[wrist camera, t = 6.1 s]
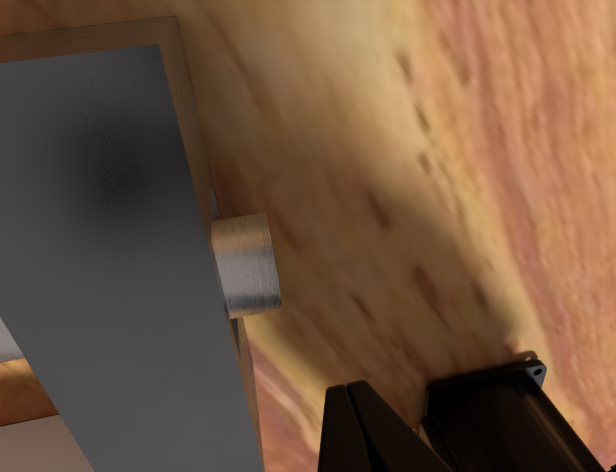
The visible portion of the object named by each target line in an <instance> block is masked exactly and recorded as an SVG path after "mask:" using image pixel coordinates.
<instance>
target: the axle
mask: <svg viewBox="0 0 616 472" xmlns="http://www.w3.org/2000/svg"><path fill="white" fill-rule="evenodd" d="M212 245H213V249H214V253H215V258H216V262H217V266H218V270H219V274H220V278H221V282H222V287H223V291H224V295H225V299H226V303H227V307H228V311H229V316H230V319H234V318H239V317H244V316H249V315H255V314H260V313H265V312H271V311H276V310H281V309H282V302H281V294H280V288H279V281H278V275H277V269H276V263H275V257H274V252H273V246H272V241H271V235H270V230H269V225H268V221H267V216H266V213H265V212H264V213H258V214H252V215H246V216H240V217H234V218H228V219H222V220H215V221H212ZM23 358H25V357H24V355H23V354H22V352H21V350H20V349H19V347H18V346H17V344H16V342H15V341H14V339H13V337H12V336H11V334H10V332H9V331H8V329H7V328H6V326H5V324H4V323H3V321H2V319H1V318H0V363H2V362H7V361H12V360H17V359H23Z"/></svg>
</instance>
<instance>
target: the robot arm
mask: <svg viewBox="0 0 616 472" xmlns="http://www.w3.org/2000/svg"><path fill="white" fill-rule="evenodd" d="M546 371H547V368H546V366H545V365H544V364H543V363H542V361H541V360H532V361H527V362H523V363H518V364H513V365H509V366H504V367H500V368H495V369H491V370H486V371H482V372H477V373H473V374H468V375H464V376H459V377H455V378H450V379H446V380H441V381H436V382H433V383H431V384H429V385H428V386H427V387H426V390H425V401H424V413H423V417H422V419H421V421H420V426H419V435H418V434H417V433H416V432H415V431H414V430H413V429H412V428H411V427H410V426H409V425H408V424H407V423H406V422H405V421H404V420H403V419H402V418H401V417H400V416H399V415H398V414H397V413H396V412H395V410H394V409H393V408H392V407H391V406H390V405H389V404H388V403H387V402H386V401H385V400H384V399H383V398H382V397H381V396H380V395H379V394H378V393H377V392H376V391H375V390H374V389H373V388H372V387H371V386H370V385H369V384H368V383H367V382H366V381H365V380H359V381H354V382H349V383H347V384H346V386H345V385H343V384H340V385H336V386H331V387H328V388H327V389H326V395H325V404H324V414H323V423H322V433H321V442H320V452H319V461H318V471H317V472H606V471H605V469H604V468H603V467H602V466H601V464H600V463H599V462H598V460H597V459H596V458H595V457H594V455H593V454H592V453H591V451H590V450H589V449H588V448H587V446H586V445H585V444H584V443H583V441H582V440H581V439H580V437H579V436H578V435H577V434H576V432H575V431H574V430H573V428H572V427H571V426H570V425H569V423H568V422H567V421H566V420H565V418H564V417H563V416H562V414H561V413H560V412H559V411H558V409H557V408H556V407H555V406H554V404H553V403H552V402H551V400H550V399H549V398H548V397H547V395H546V394H545V393H544V391H543V390H542V389H541V388H542V384H543V381H544V378H545V374H546ZM610 468H611V470H609V471H608V472H616V464H615V465H613V466H611V467H610Z"/></svg>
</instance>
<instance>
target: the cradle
mask: <svg viewBox="0 0 616 472" xmlns="http://www.w3.org/2000/svg"><path fill="white" fill-rule="evenodd" d="M0 472H94V470H93V469H92V467H91V465H90V464H89V462H88V461H87V459H86V457H85V456H84V454H83V452H82V451H81V449H80V447H79V446H78V444H77V442H76V441H75V439H74V438H73V436H72V434H71V433H70V431H69V429H68V428H67V426H66V424H65V423H64V421H63V419H62V418H61V416H60V415H55V416H50V417H45V418H40V419H36V420H31V421H26V422H21V423H16V424H12V425H7V426H2V427H0Z"/></svg>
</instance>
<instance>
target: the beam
mask: <svg viewBox="0 0 616 472" xmlns="http://www.w3.org/2000/svg"><path fill="white" fill-rule="evenodd" d="M215 220H221V217H220V212H219V208H218V203H217V199H216V194H215V189H214V185H213V180H212V176H211V171H210V167H209V162H208V158H207V153H206V149H205V144H204V140H203V135H202V131H201V126H200V122H199V117H198V112H197V108H196V103H195V99H194V94H193V90H192V85H191V81H190V76H189V72H188V67H187V63H186V58H185V54H184V49H183V45H182V40H181V35H180V31H179V26H178V22H177V17H176V16H171V17H162V18H153V19H145V20H136V21H127V22H119V23H110V24H101V25H93V26H84V27H75V28H66V29H58V30H49V31H40V32H32V33H23V34H14V35H6V36H0V318H1V319H2V321H3V323H4V324H5V326H6V328H7V329H8V331H9V332H10V334H11V336H12V337H13V339H14V341H15V342H16V344H17V346H18V347H19V349H20V350H21V352H22V354H23V355H24V357H25V359H26V360H27V362H28V364H29V365H30V367H31V369H32V370H33V372H34V373H35V375H36V377H37V378H38V380H39V382H40V383H41V385H42V387H43V388H44V390H45V392H46V393H47V395H48V396H49V398H50V400H51V401H52V403H53V405H54V406H55V408H56V410H57V411H58V413H59V415H60V416H61V418H62V419H63V421H64V423H65V424H66V426H67V428H68V429H69V431H70V433H71V434H72V436H73V438H74V439H75V441H76V442H77V444H78V446H79V447H80V449H81V451H82V452H83V454H84V456H85V457H86V459H87V461H88V462H89V464H90V465H91V467H92V469H93V470H94V472H265V468H264V459H263V450H262V441H261V432H260V423H259V414H258V405H257V396H256V387H255V378H254V369H253V362H252V357H251V353H250V348H249V343H248V339H247V334H246V330H245V325H244V321H243V317H239V318H234V319H230V316H229V311H228V307H227V303H226V299H225V295H224V291H223V287H222V282H221V278H220V274H219V270H218V266H217V262H216V258H215V253H214V249H213V245H212V221H215Z"/></svg>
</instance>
